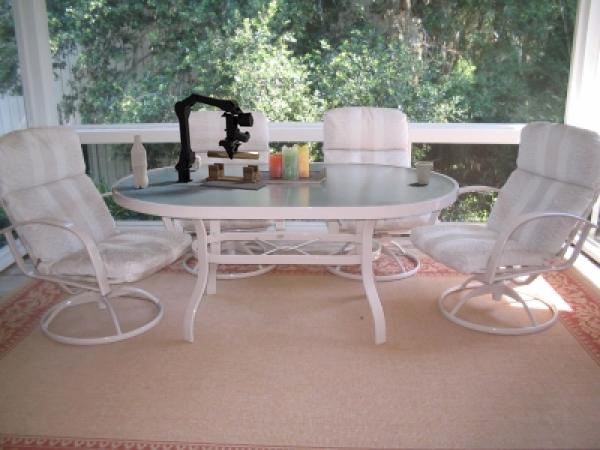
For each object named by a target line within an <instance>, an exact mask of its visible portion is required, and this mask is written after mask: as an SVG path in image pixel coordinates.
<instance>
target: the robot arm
mask: <svg viewBox="0 0 600 450" xmlns="http://www.w3.org/2000/svg"><path fill="white" fill-rule="evenodd" d="M197 103H199V104H204V105H208V106H211V107H216V108H218V109H220V110H221V111H224V112H223V114H221V115H220V117H221V118H224V119H225V128H224V132H225V133H226V134H225V136H226V137H224V138H223V139H220V140H219V141H218V147H222V148H223V149H224V151H226V152H227V154H228V156H229V158H228V159H229V160H230V161H231V160H234V159H233V151H236V152H239V151H238V150H239V148H240V146H242V145H243V143H249V140H250V139H251V135H250V131H247V130H246V131H244V132H242V131H241V127H242V128H252V127H254V122H255V121H254V117H253V115H252V113H253V112H252V111H249V112H244V111H243V110H242V108H241V107H240V106H239V102H238V101H237V100H236V99H231V98H230V99H229V98H227V99H226V98H217V97H214V96H209V95H206V94H202V93H199V92H193V93H191V94H190V95H189V96H187V97H185V98H183V99H182V100H178V101H176V102H175V104H174V106H173V107H174V108H173V109H174V113H175V115H176V117H177V119H178V127H179V128H178V129H179V138H180V141H179V142H180V151H179V155H178V162H177V163H175V165H174V169H175V171H177V178H178V179H176V181H175V183H190V182H192V181H193V180H194V179H191V169H192V165H193V164H194V163H195V160H196V157H195V155H196V151H195V150H194V151H193V150H192V147H191V145H192V144H191V136H190V135H191V133H190V122H189V121H190V120H189V119H190V115H191V108H192V107H193V106H195V105H196V104H197ZM240 142H241V143H240Z"/></svg>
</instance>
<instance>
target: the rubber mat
mask: <svg viewBox="0 0 600 450" xmlns="http://www.w3.org/2000/svg"><path fill="white" fill-rule="evenodd" d="M266 186H267V184H264V183H263V184H262V183H257V184H253V183H239V182H224V181H206V182H203V183H202V184H200V187H206V188H207V187H209V188H210V187H211V188H221V189H234V190H237V189H238V190H250V191H251V190H252V191H258V190H260V189H262V188H264V187H266Z"/></svg>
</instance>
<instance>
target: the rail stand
mask: <svg viewBox="0 0 600 450" xmlns="http://www.w3.org/2000/svg"><path fill="white" fill-rule="evenodd" d="M207 167H208V176H207V177H205V181H206V182H209V181H224V182H239V183H253V184H259V183H260V182H259V181H261V180H262V181H263V178H262V177H259V165H258V164H247V166H243V167H242V176H236V175H225V162H224V163H223V162H214V163H213V164H208V166H207ZM262 181H261V182H262ZM258 182H259V183H258Z"/></svg>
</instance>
